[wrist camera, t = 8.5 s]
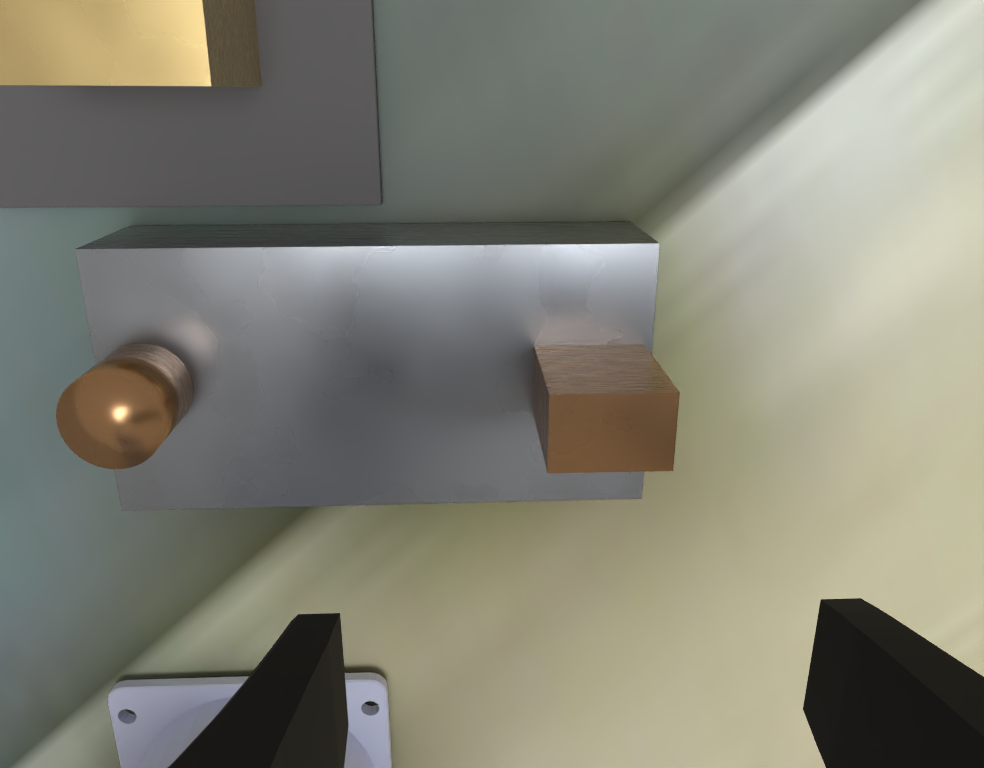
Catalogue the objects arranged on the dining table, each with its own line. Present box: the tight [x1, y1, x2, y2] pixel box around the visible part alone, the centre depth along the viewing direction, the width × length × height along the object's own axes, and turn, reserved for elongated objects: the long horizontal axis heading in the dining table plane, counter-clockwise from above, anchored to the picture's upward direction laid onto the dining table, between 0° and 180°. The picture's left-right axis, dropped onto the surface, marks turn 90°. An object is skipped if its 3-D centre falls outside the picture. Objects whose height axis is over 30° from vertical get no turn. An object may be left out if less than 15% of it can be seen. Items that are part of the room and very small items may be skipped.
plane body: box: [56, 222, 679, 511], centre depth 18 cm, size 6×12×6 cm, turn 90°
